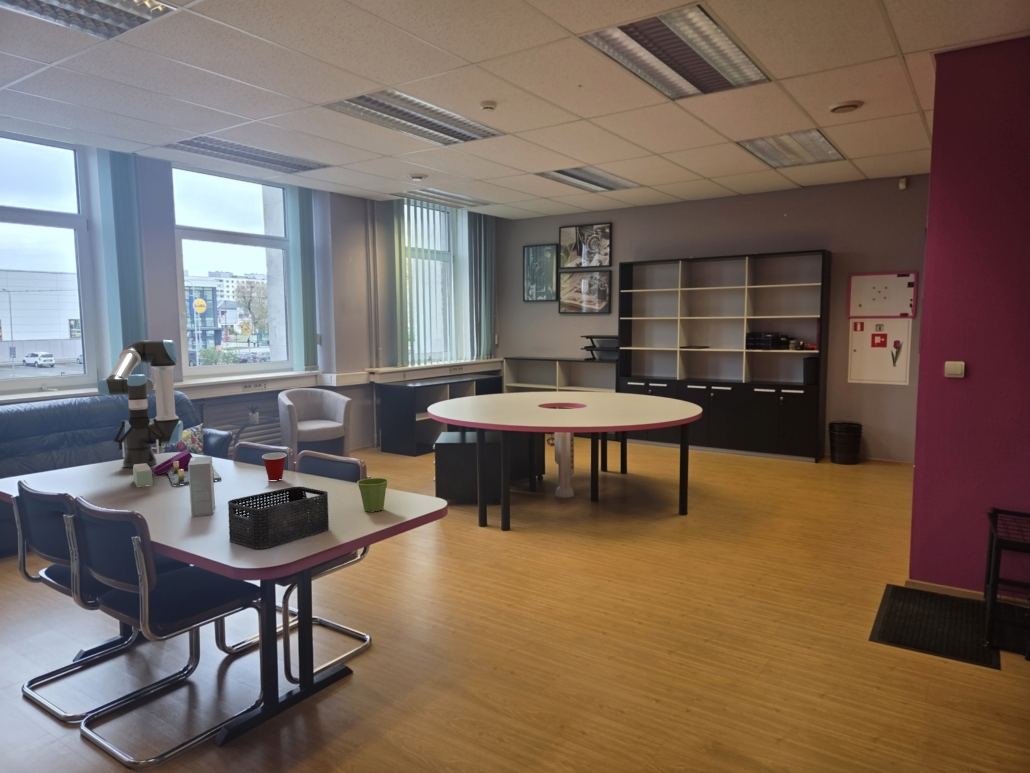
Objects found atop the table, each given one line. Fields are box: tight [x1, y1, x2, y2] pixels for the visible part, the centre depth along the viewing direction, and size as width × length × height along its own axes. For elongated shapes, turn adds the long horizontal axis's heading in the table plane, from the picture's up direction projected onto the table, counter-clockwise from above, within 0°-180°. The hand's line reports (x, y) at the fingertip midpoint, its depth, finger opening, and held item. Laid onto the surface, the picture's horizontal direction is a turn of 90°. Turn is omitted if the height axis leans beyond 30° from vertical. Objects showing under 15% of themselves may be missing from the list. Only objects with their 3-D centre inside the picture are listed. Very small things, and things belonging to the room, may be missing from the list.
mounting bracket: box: [151, 449, 193, 475], centre depth 329 cm, size 10×8×18 cm
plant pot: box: [356, 477, 389, 513], centre depth 254 cm, size 12×12×11 cm
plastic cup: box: [261, 452, 288, 481], centre depth 307 cm, size 11×11×12 cm
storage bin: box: [227, 486, 330, 550], centre depth 224 cm, size 29×19×13 cm
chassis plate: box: [166, 461, 222, 486], centre depth 315 cm, size 30×20×6 cm, turn 32°
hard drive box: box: [188, 455, 216, 518], centre depth 255 cm, size 16×8×20 cm, turn 22°
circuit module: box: [132, 463, 153, 488], centre depth 304 cm, size 16×6×8 cm, turn 35°
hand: (141, 455), depth 303 cm, fingers open, 13 cm apart
